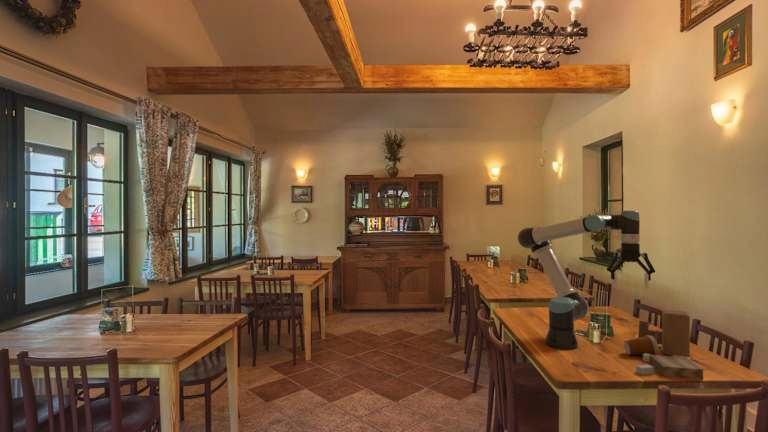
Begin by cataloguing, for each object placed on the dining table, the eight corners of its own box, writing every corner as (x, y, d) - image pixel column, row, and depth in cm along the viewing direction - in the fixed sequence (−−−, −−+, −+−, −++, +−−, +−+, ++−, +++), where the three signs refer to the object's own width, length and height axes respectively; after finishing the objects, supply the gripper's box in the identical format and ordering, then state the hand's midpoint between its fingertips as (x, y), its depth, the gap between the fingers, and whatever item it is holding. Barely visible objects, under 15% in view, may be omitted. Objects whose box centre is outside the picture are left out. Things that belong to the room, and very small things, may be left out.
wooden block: (690, 359, 182) (689, 315, 182) (663, 355, 187) (663, 312, 187) (687, 352, 191) (687, 311, 191) (662, 349, 196) (661, 308, 196)
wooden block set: (667, 348, 197) (669, 327, 197) (648, 346, 198) (650, 325, 199) (649, 338, 215) (651, 319, 215) (632, 336, 216) (633, 317, 216)
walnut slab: (663, 376, 163) (663, 366, 163) (649, 363, 177) (649, 354, 177) (703, 379, 160) (703, 369, 160) (685, 366, 173) (685, 357, 173)
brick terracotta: (672, 362, 178) (672, 356, 178) (673, 361, 181) (673, 354, 181) (689, 366, 174) (689, 359, 174) (690, 364, 176) (690, 357, 176)
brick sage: (642, 361, 181) (642, 354, 181) (645, 359, 182) (645, 353, 182) (658, 364, 176) (658, 358, 176) (660, 363, 178) (660, 356, 178)
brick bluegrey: (642, 375, 164) (642, 368, 164) (636, 372, 167) (636, 365, 167) (654, 374, 166) (654, 367, 166) (647, 371, 169) (647, 364, 169)
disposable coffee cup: (633, 358, 182) (662, 355, 181) (627, 336, 186) (654, 333, 184) (626, 358, 191) (652, 356, 189) (619, 338, 195) (646, 335, 193)
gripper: (603, 242, 190) (604, 287, 190) (663, 243, 184) (663, 289, 184) (599, 241, 198) (599, 284, 198) (656, 242, 192) (656, 286, 192)
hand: (630, 286), depth 191 cm, fingers open, 13 cm apart
